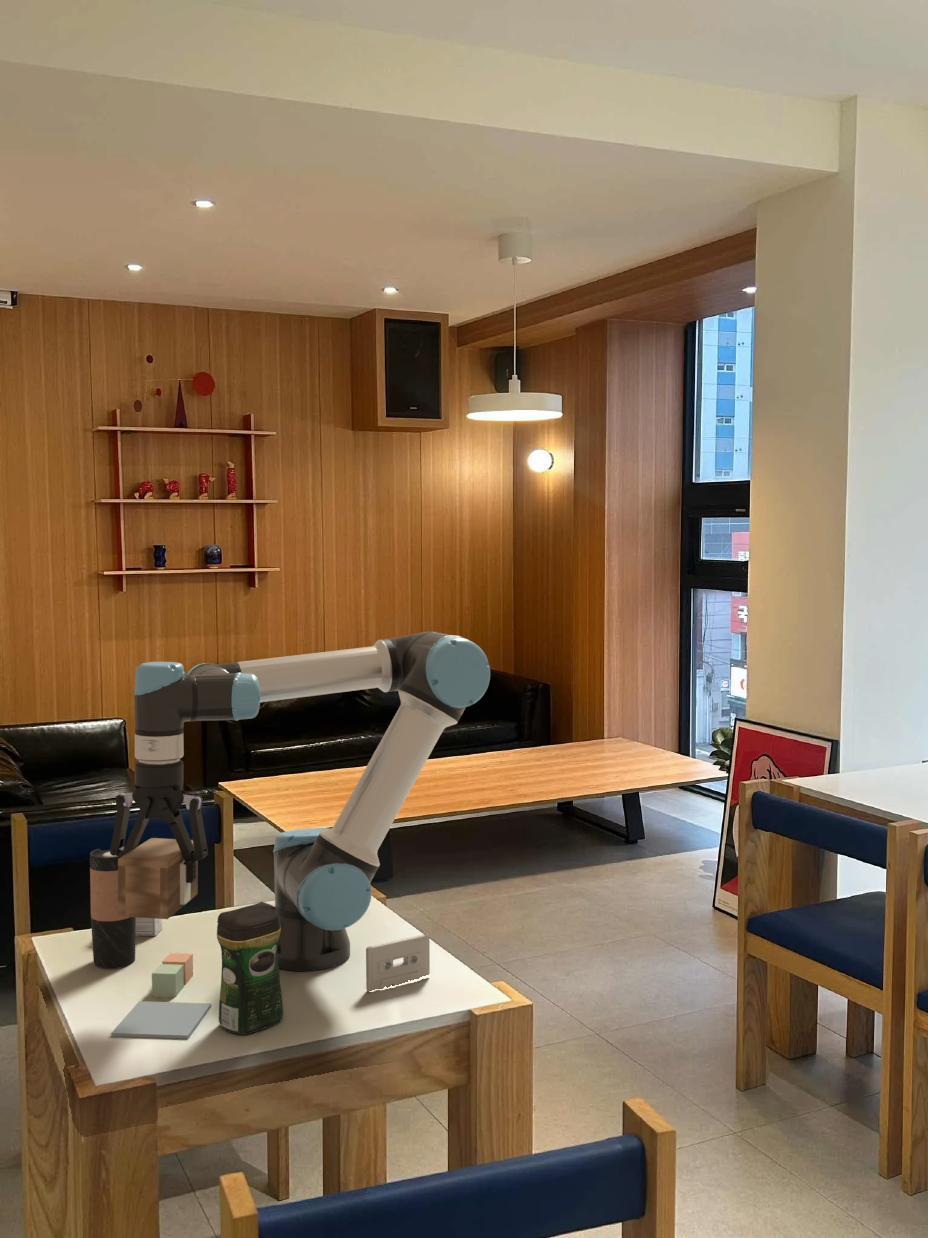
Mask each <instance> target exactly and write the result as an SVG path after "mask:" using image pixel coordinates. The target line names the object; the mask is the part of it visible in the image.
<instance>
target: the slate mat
mask: <svg viewBox="0 0 928 1238" xmlns="http://www.w3.org/2000/svg"><path fill="white" fill-rule="evenodd" d="M211 1008H212V1003H211V1002H209V1003H208V1002H181V1001H180V1002H179V1001H177V1002H175V1001H148V1000H147V1001H144V1000H143V1001H141V1000H140V1001H138V1002H137V1003H136V1004H135V1005H134V1006H133V1007H132V1008H131V1010H130V1011H129V1012H128V1013H127V1015H126V1016H125V1017H123V1019H122V1020H121V1021H120V1022H119V1023H118V1024H117V1025H116V1026H115V1028H114V1029H113V1030H112V1031H111V1033H110V1036H111V1037H121V1038H122V1037H123V1038H124V1037H125V1038H130V1037H131V1038H150V1039H151V1038H152V1039H153V1038H154V1039H155V1038H157V1039H158V1038H159V1039H186V1040H187V1039H188V1040H189V1038H190V1037H191V1036H192V1034H193V1033H195V1030H196V1029H197V1027H198V1026H199V1024H200V1023H201V1022H202V1020H203V1019H204V1018H205V1016H206V1015H207V1014H208V1012H209V1011H210V1009H211Z"/></svg>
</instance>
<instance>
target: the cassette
mask: <svg viewBox="0 0 928 1238" xmlns="http://www.w3.org/2000/svg"><path fill="white" fill-rule="evenodd" d="M430 949H431V947H430V935H428V934H427V933H425V934H421V935H416V936H411V937H406V938H401V939H398V940H394V941H393V940H392V941H390V942H384V943H379V944H375V945H370V946H367V947H366V949H365V958H366V959H365V971H366V972H365V978H366V979H365V981H366V982H365V986H366V987H365V988H366V990H367V991H372V990H375V989H383V988H384V987H385V986H386V987H387V988H388V987H390V986H391V985H392V986H395V985H399V984H402V983H405V982H408V980H410V981H411V980H414V979H419V978H420V977H422V976H426V975H429V974H431V973H430V969H431V967H430V964H431V963H430V958H431V957H430V956H431V955H430V954H431V953H430ZM398 959H403V962H398V963H394V961H395V960H398ZM367 991H366V992H367Z"/></svg>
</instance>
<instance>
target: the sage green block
mask: <svg viewBox="0 0 928 1238" xmlns="http://www.w3.org/2000/svg"><path fill="white" fill-rule="evenodd" d="M184 987H185V985H184V981H183V965H170V964H162V963H160V964H158V965H157V967H156V968H155V969H154V970H153V971H152V973H151V996H152V997H158V998H160V997H161V998H162V997H163V998H165V997H166V998H168V997H169V998H177V996H178V995H179V994H180V993H181V991H182V990H183V989H184Z"/></svg>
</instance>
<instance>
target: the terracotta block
mask: <svg viewBox="0 0 928 1238" xmlns="http://www.w3.org/2000/svg"><path fill="white" fill-rule="evenodd" d="M193 956H194V954H193V953H185V952H184V953H180V952H179V953H178V952H169V953H168V954H167V956H166V957H165V958H164V959H163V960H161V961H162V963H161V964H170V965H183V981H184V986H186V985H187V984H188V983H189V981H190V980H191V979H192V978H193V977H194V957H193Z"/></svg>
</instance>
